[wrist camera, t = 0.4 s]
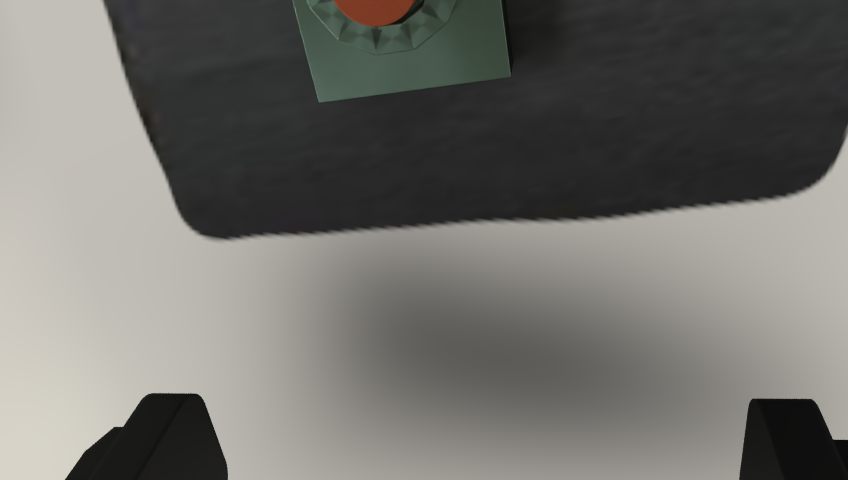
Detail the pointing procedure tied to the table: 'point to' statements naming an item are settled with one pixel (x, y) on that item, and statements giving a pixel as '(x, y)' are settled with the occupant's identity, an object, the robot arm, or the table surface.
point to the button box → (404, 47)
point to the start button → (374, 10)
